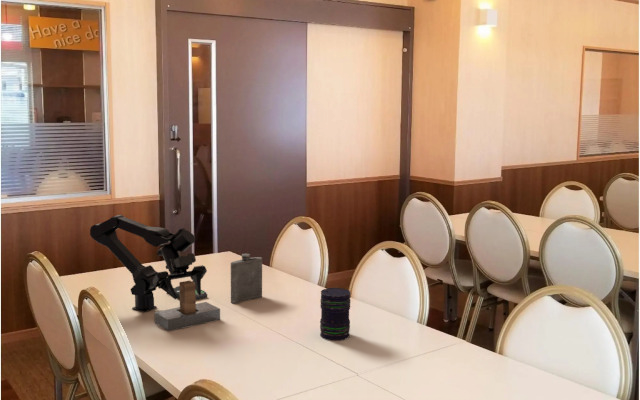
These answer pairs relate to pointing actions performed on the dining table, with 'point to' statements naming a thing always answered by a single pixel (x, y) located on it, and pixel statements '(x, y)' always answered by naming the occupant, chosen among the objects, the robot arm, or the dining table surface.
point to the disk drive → (201, 296)
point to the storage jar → (335, 314)
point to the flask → (246, 279)
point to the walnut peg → (187, 297)
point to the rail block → (187, 317)
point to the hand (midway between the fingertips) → (188, 296)
